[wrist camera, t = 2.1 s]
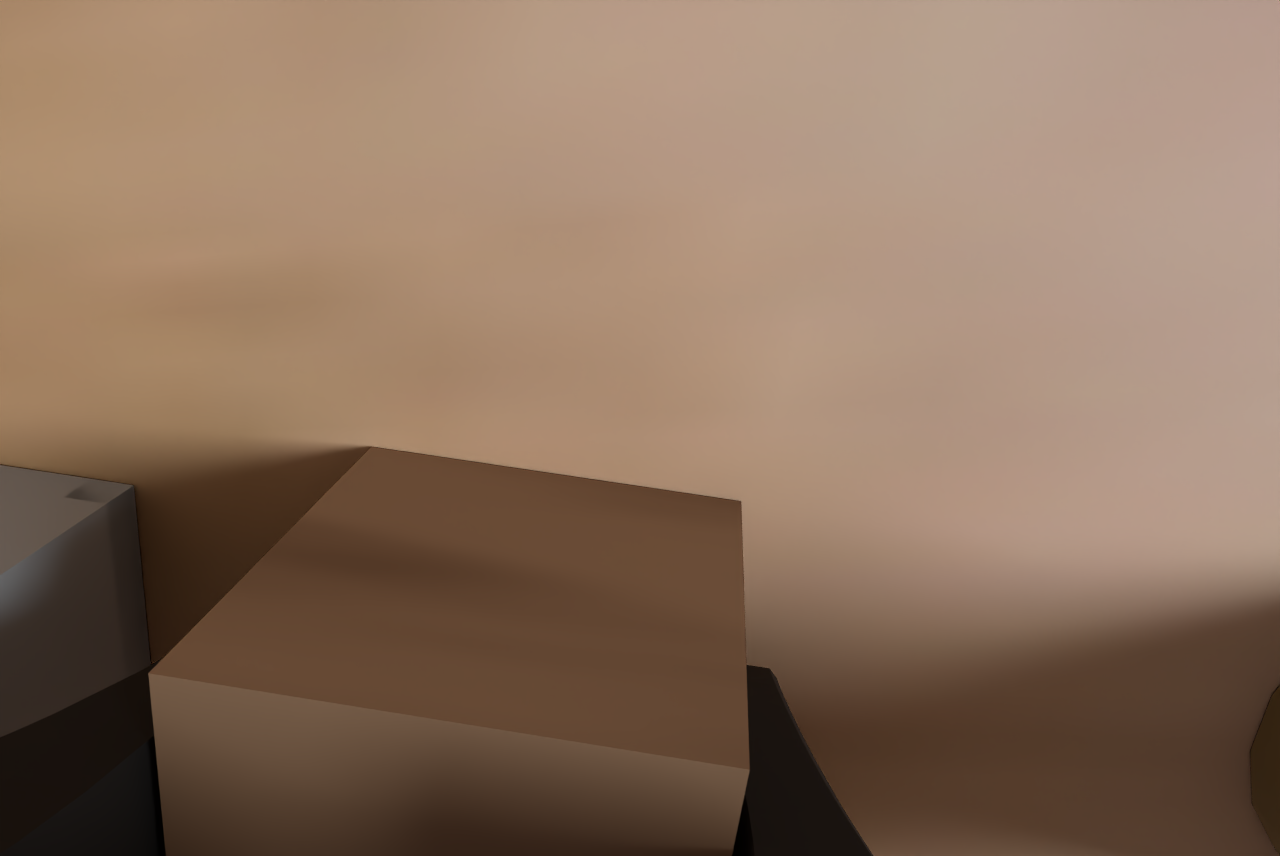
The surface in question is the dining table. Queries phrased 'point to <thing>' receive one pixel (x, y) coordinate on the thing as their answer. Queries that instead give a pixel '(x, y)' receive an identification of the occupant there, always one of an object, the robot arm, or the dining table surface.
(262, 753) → the walnut cube
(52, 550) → the tote
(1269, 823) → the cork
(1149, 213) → the dining table surface
